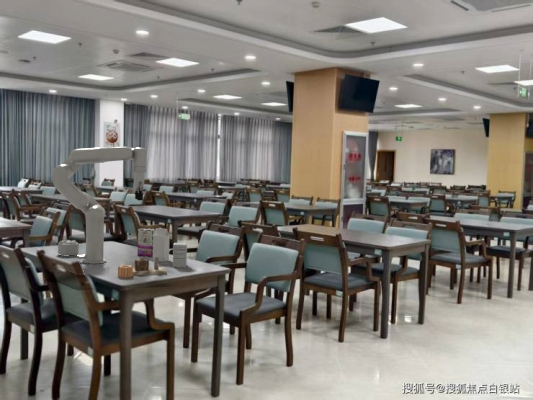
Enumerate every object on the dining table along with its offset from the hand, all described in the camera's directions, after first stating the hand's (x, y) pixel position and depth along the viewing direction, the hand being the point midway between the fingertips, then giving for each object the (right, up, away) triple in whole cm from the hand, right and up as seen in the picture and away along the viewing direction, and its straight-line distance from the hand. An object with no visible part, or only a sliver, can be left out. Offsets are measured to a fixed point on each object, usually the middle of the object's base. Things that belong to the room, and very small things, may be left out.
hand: (138, 199), depth 302 cm
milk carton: (+11, -36, +9) cm, 38 cm away
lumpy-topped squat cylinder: (-47, -33, +17) cm, 60 cm away
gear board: (+11, -38, -26) cm, 47 cm away
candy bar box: (-1, -35, +24) cm, 42 cm away
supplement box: (+24, -37, -6) cm, 45 cm away
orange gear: (+2, -38, -38) cm, 54 cm away
